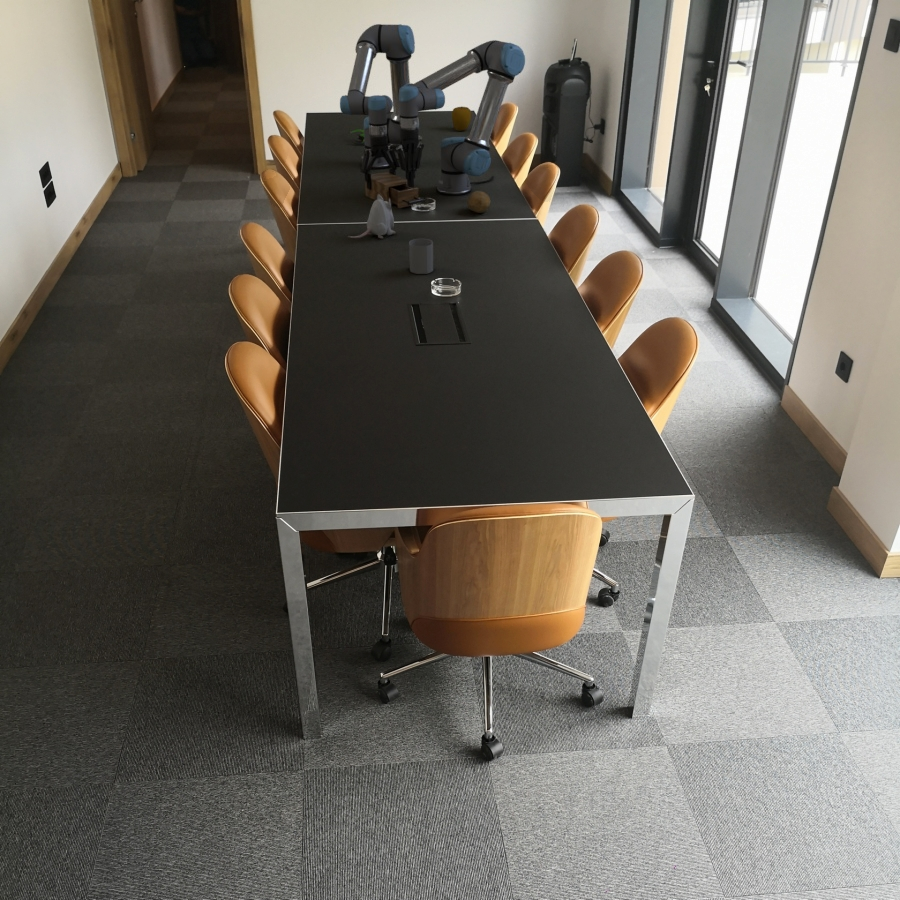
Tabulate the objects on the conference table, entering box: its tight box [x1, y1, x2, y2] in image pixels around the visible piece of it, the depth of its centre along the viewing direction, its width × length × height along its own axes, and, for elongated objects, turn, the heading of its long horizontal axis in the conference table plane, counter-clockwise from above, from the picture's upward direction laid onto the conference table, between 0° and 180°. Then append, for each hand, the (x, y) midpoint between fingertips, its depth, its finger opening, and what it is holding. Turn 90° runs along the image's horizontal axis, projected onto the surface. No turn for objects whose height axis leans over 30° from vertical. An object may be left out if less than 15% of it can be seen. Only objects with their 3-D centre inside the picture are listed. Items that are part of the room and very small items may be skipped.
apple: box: [451, 105, 472, 132], centre depth 487 cm, size 11×11×13 cm
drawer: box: [389, 184, 424, 209], centre depth 370 cm, size 22×10×7 cm, turn 36°
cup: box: [408, 237, 434, 275], centre depth 305 cm, size 8×8×10 cm
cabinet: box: [364, 171, 407, 206], centre depth 378 cm, size 18×11×9 cm, turn 36°
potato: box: [467, 190, 491, 214], centre depth 363 cm, size 10×14×8 cm
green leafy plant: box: [348, 128, 365, 146], centre depth 466 cm, size 6×13×30 cm
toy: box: [347, 194, 396, 240], centre depth 332 cm, size 9×24×15 cm, turn 137°
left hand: (380, 186), depth 382 cm, fingers closed on cabinet, 11 cm apart
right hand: (410, 186), depth 362 cm, fingers closed
